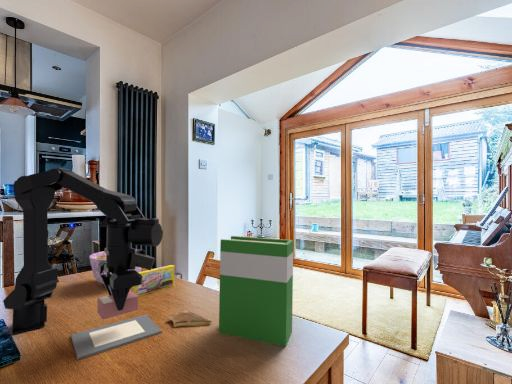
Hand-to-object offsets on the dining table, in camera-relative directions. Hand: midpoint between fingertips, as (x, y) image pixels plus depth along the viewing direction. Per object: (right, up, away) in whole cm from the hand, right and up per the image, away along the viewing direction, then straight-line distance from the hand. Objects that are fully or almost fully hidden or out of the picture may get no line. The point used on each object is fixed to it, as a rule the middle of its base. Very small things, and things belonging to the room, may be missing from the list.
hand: (117, 306), depth 67 cm
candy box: (-3, -8, +31) cm, 32 cm away
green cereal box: (+35, -8, +2) cm, 36 cm away
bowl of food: (-20, -8, +39) cm, 45 cm away
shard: (+16, -8, +9) cm, 20 cm away
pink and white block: (0, -1, 0) cm, 1 cm away
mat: (0, -7, 0) cm, 7 cm away
